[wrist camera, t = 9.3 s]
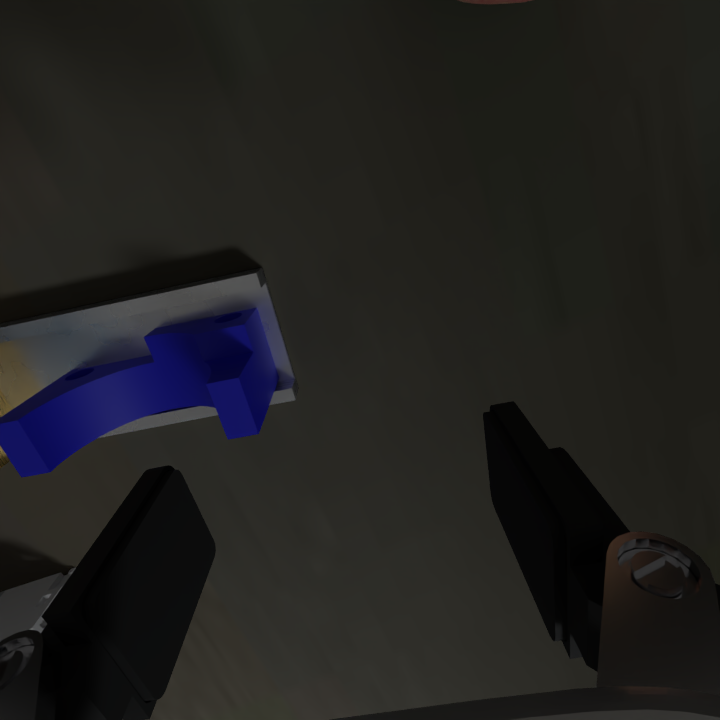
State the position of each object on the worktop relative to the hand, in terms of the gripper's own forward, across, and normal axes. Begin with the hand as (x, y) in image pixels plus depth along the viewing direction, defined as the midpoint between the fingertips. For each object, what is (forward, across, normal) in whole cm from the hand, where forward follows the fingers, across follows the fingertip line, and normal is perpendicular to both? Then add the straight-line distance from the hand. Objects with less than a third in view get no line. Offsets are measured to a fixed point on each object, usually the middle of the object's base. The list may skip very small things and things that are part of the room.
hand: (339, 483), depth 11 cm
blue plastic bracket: (+14, +11, 0) cm, 18 cm away
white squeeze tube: (+14, +13, 0) cm, 19 cm away
